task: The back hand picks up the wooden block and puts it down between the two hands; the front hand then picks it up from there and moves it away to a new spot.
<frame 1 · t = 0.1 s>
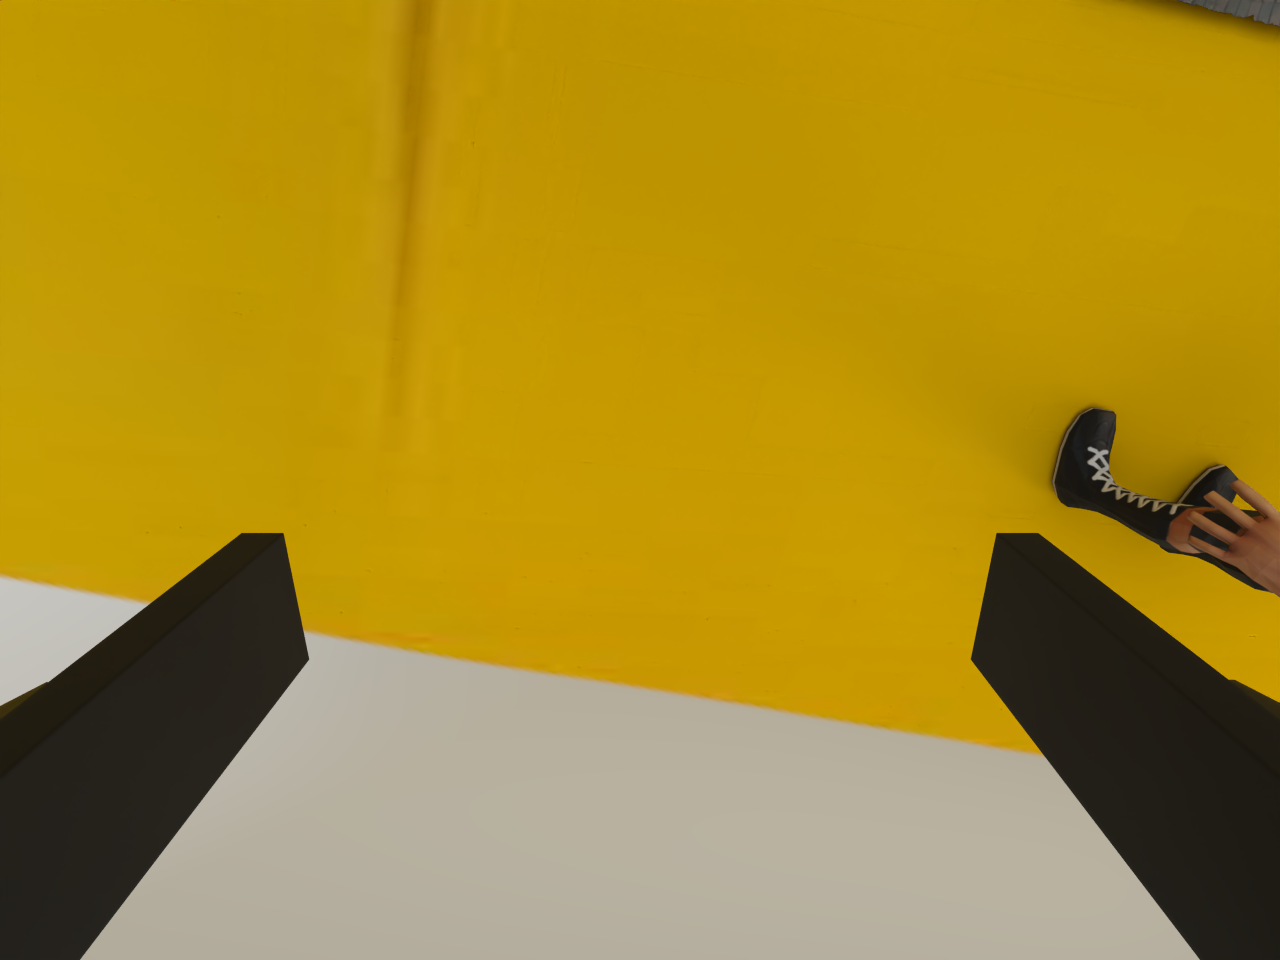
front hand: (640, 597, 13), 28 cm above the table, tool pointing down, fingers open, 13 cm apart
figurine: (1134, 477, 42), on the table
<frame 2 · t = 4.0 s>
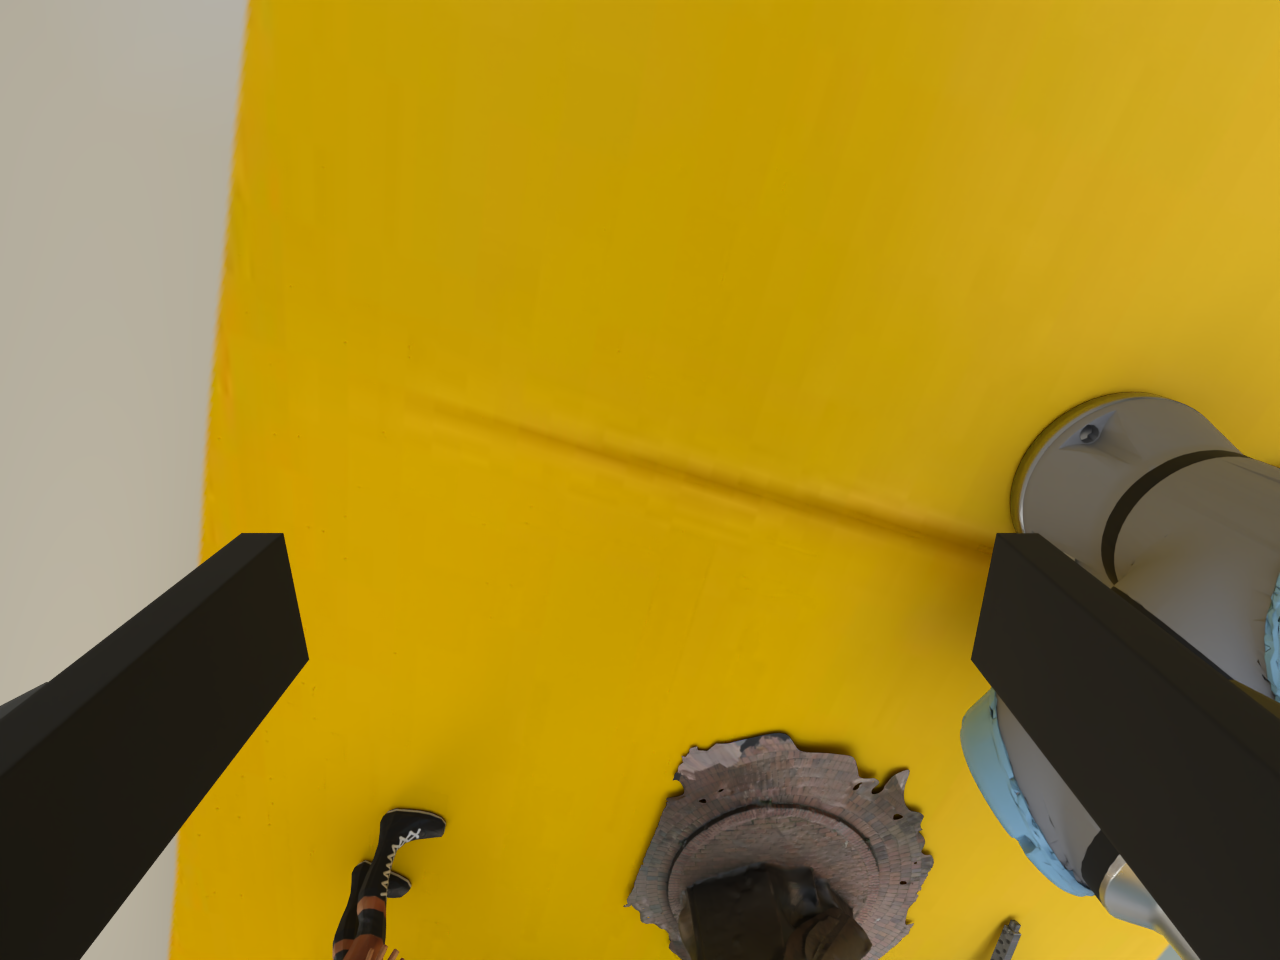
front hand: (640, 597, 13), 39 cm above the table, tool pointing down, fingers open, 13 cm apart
sculpture: (775, 871, 69), on the table
figurine: (401, 846, 67), on the table
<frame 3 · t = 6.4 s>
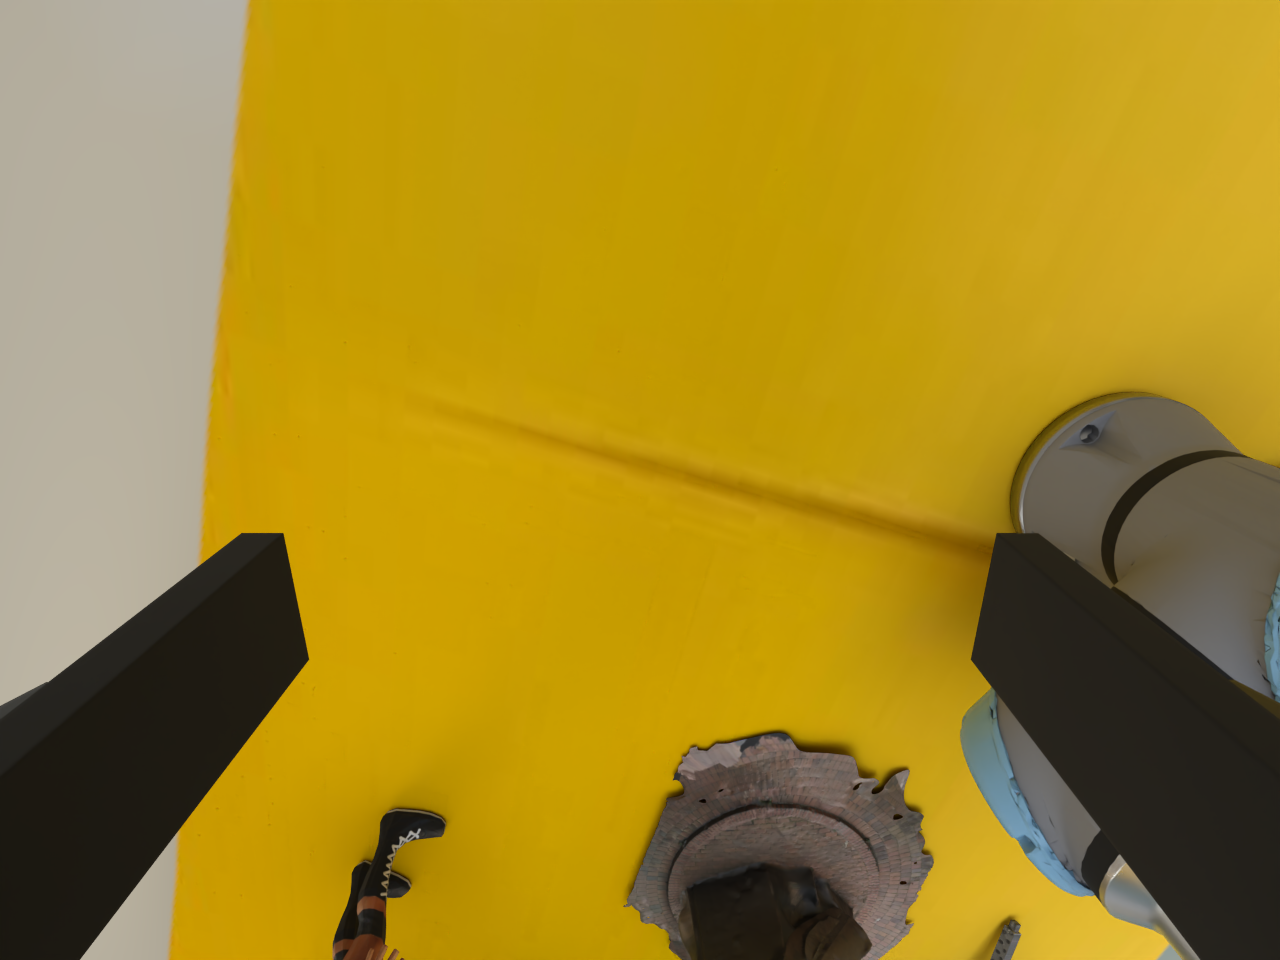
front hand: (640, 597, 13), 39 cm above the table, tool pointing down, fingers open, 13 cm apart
sculpture: (775, 871, 69), on the table
figurine: (401, 846, 67), on the table
when the back hand's fingers open (5 cm above the table, at t = 8.9 s): block drops 1 cm, on the table.
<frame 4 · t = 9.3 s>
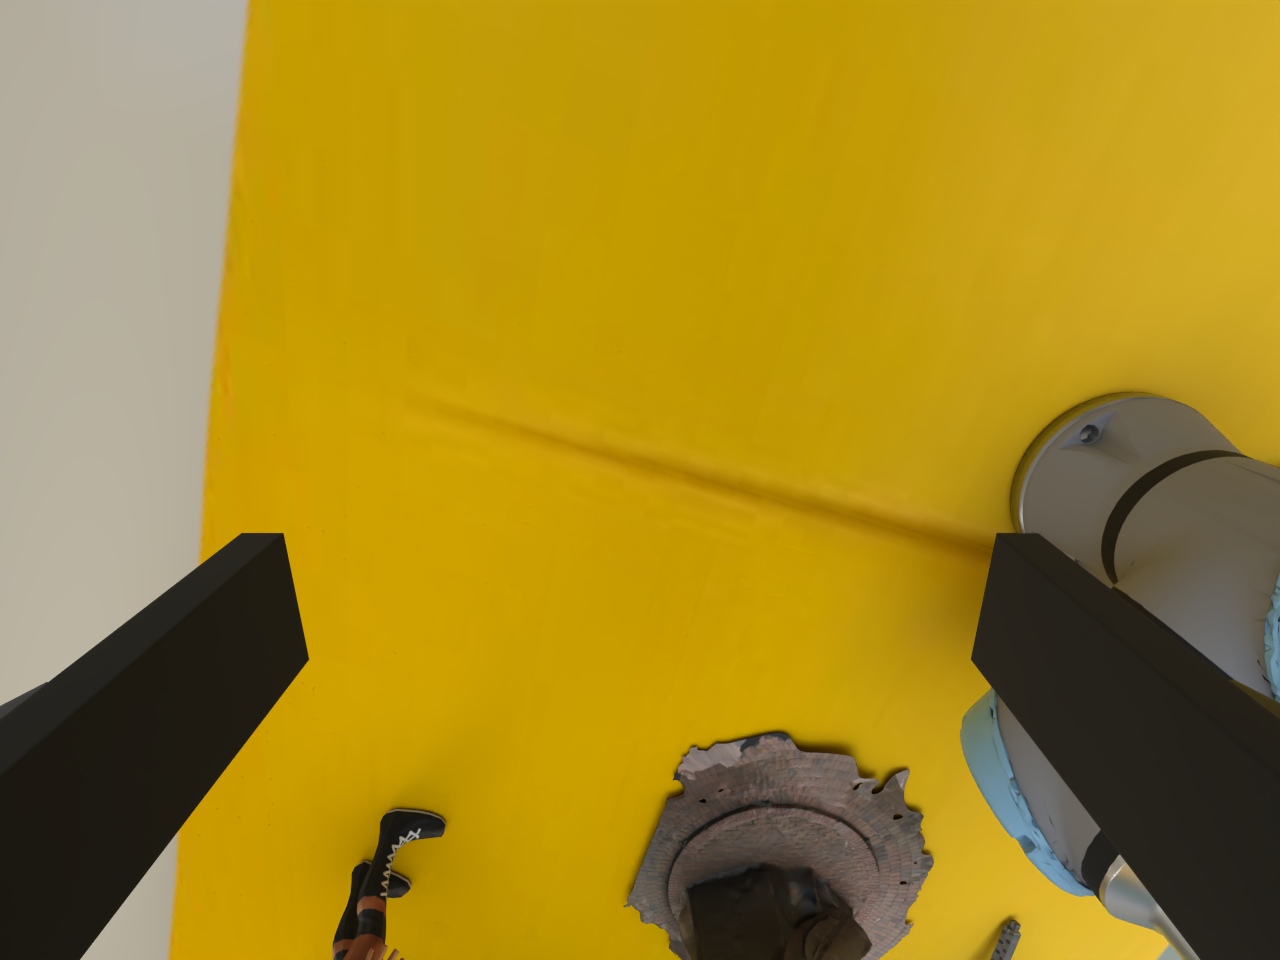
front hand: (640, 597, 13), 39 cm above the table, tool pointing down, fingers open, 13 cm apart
sculpture: (775, 871, 69), on the table
figurine: (401, 846, 67), on the table
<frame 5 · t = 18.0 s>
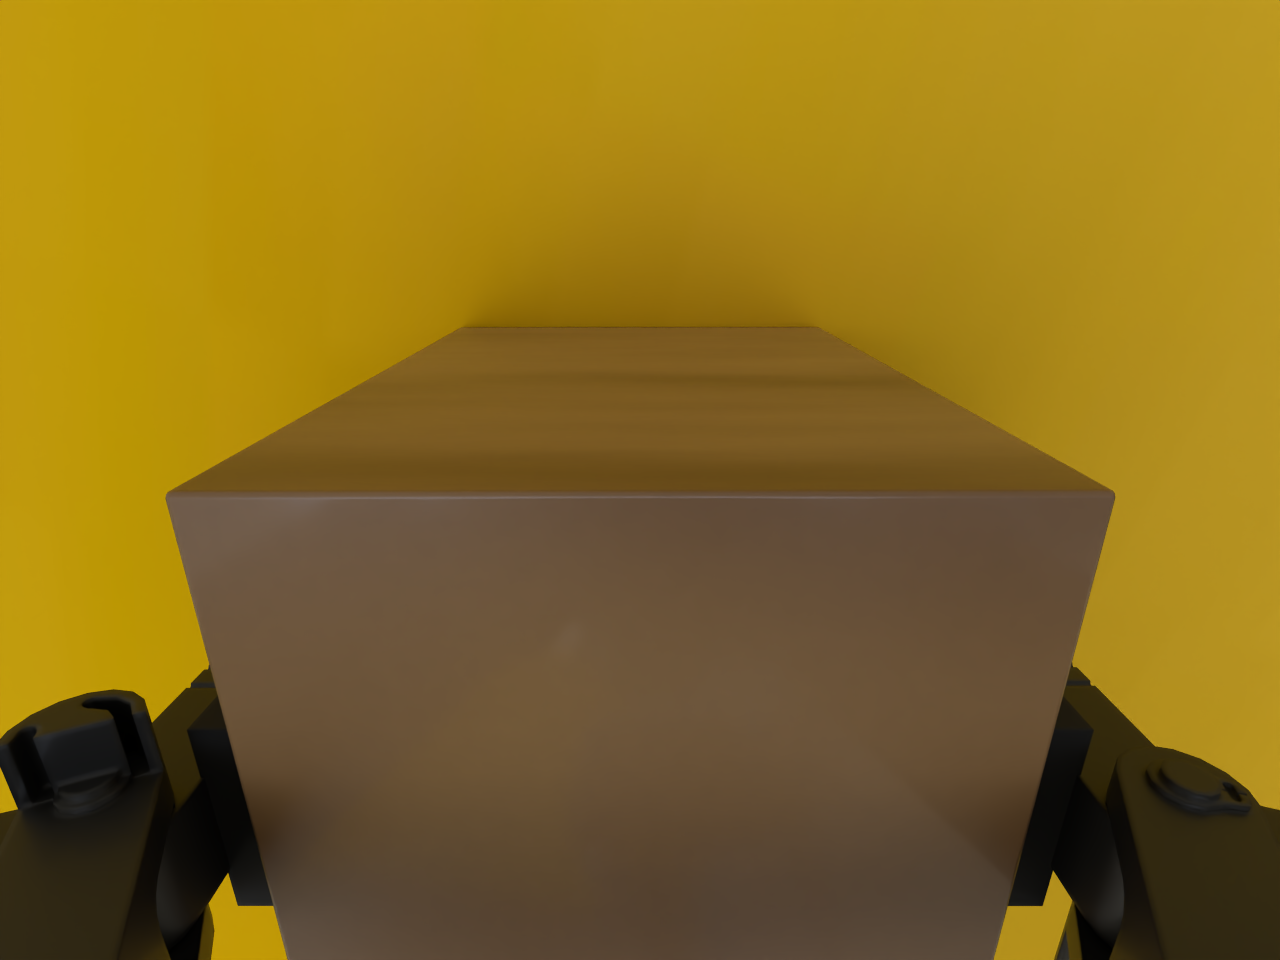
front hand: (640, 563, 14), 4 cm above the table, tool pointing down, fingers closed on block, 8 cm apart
block: (639, 496, 17), on the table, touching front hand
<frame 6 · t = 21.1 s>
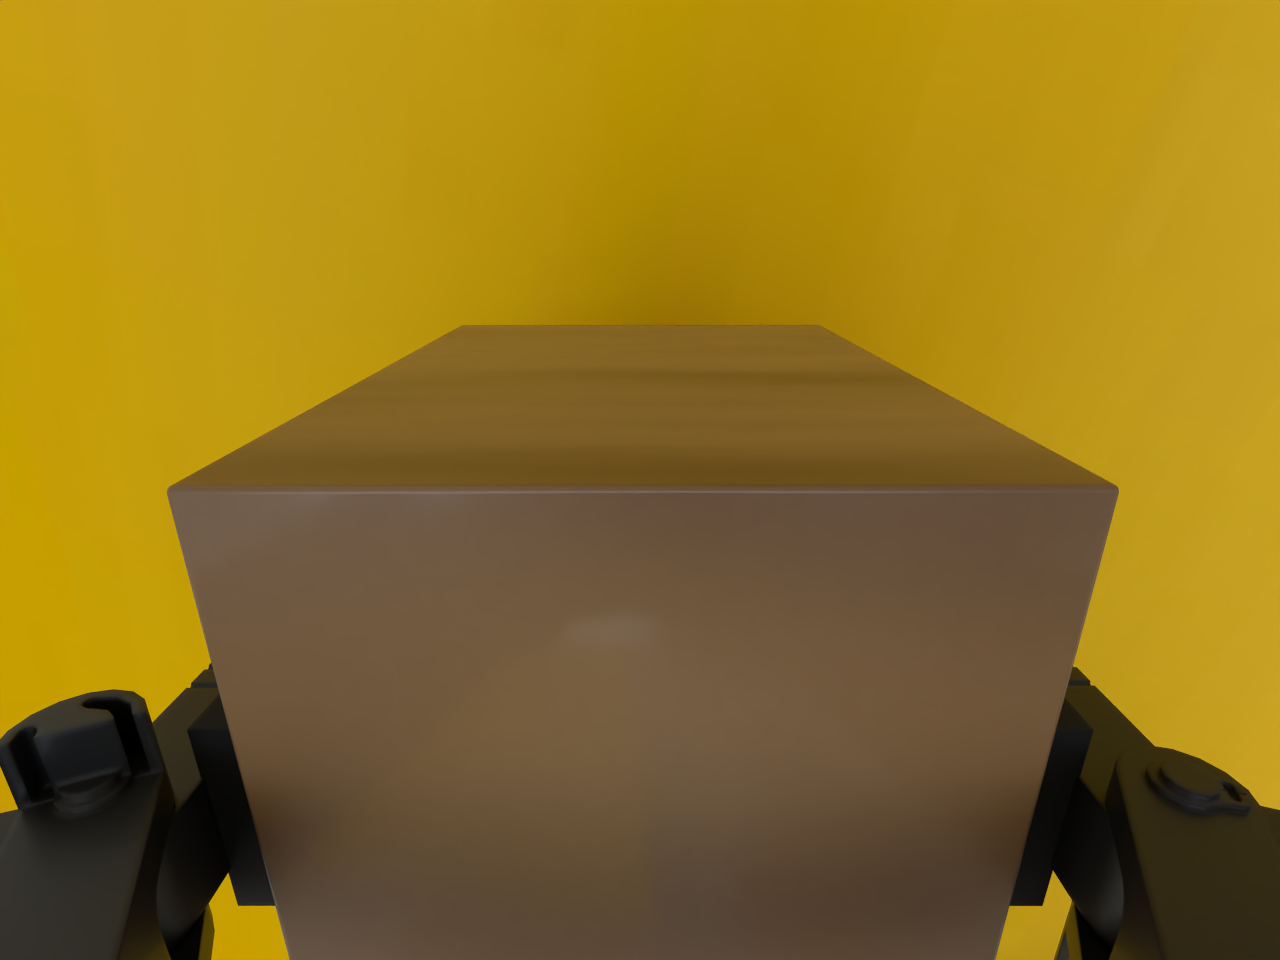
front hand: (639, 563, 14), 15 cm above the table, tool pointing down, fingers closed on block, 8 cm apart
block: (640, 494, 17), point 11 cm above the table, touching front hand
when the front hand's fingers open (5 cm above the table, at t = 24.3 s): block drops 1 cm, on the table.
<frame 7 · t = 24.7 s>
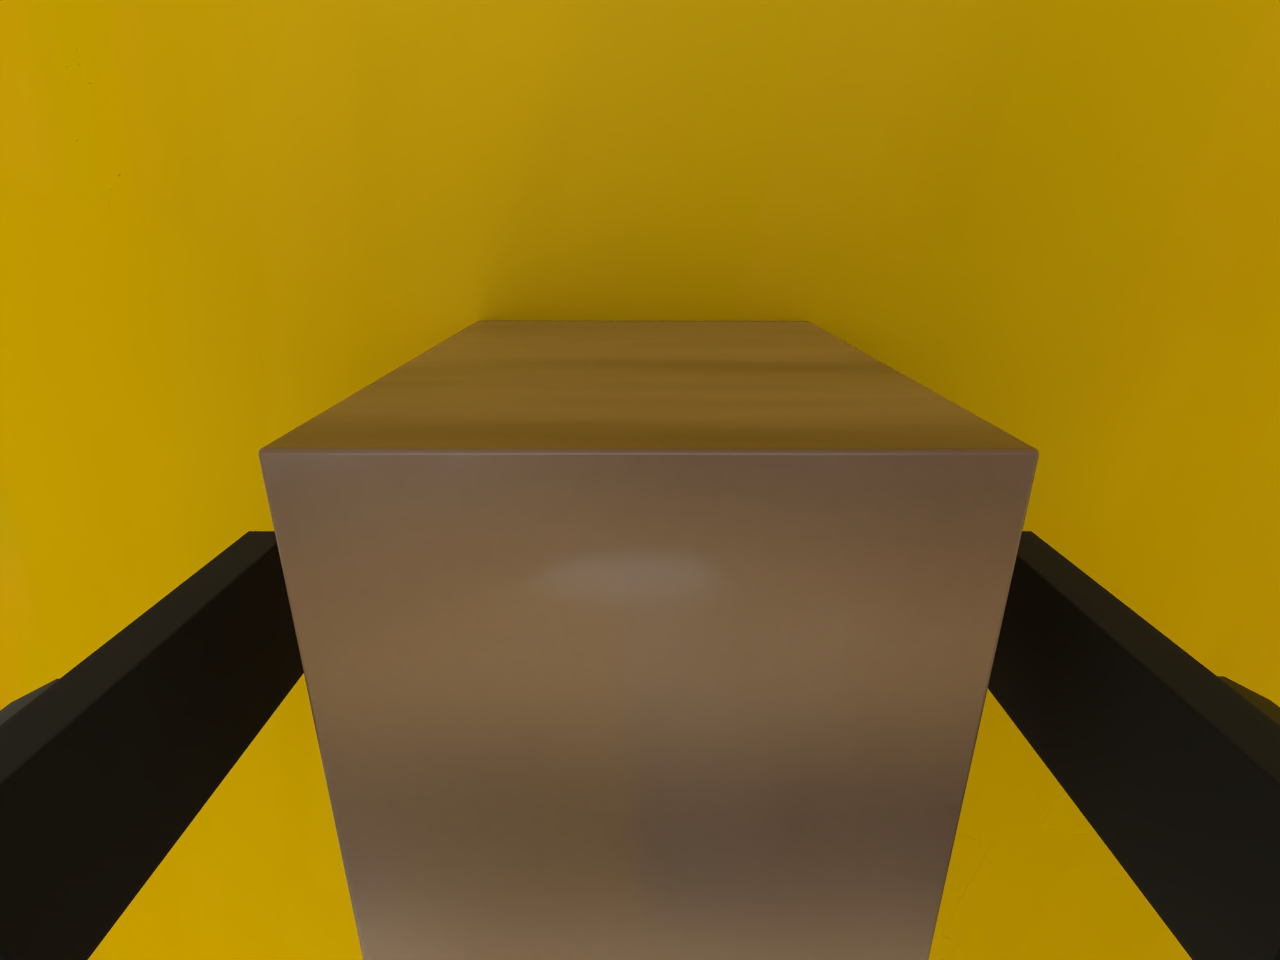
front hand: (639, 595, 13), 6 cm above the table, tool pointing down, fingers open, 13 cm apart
block: (642, 478, 19), on the table
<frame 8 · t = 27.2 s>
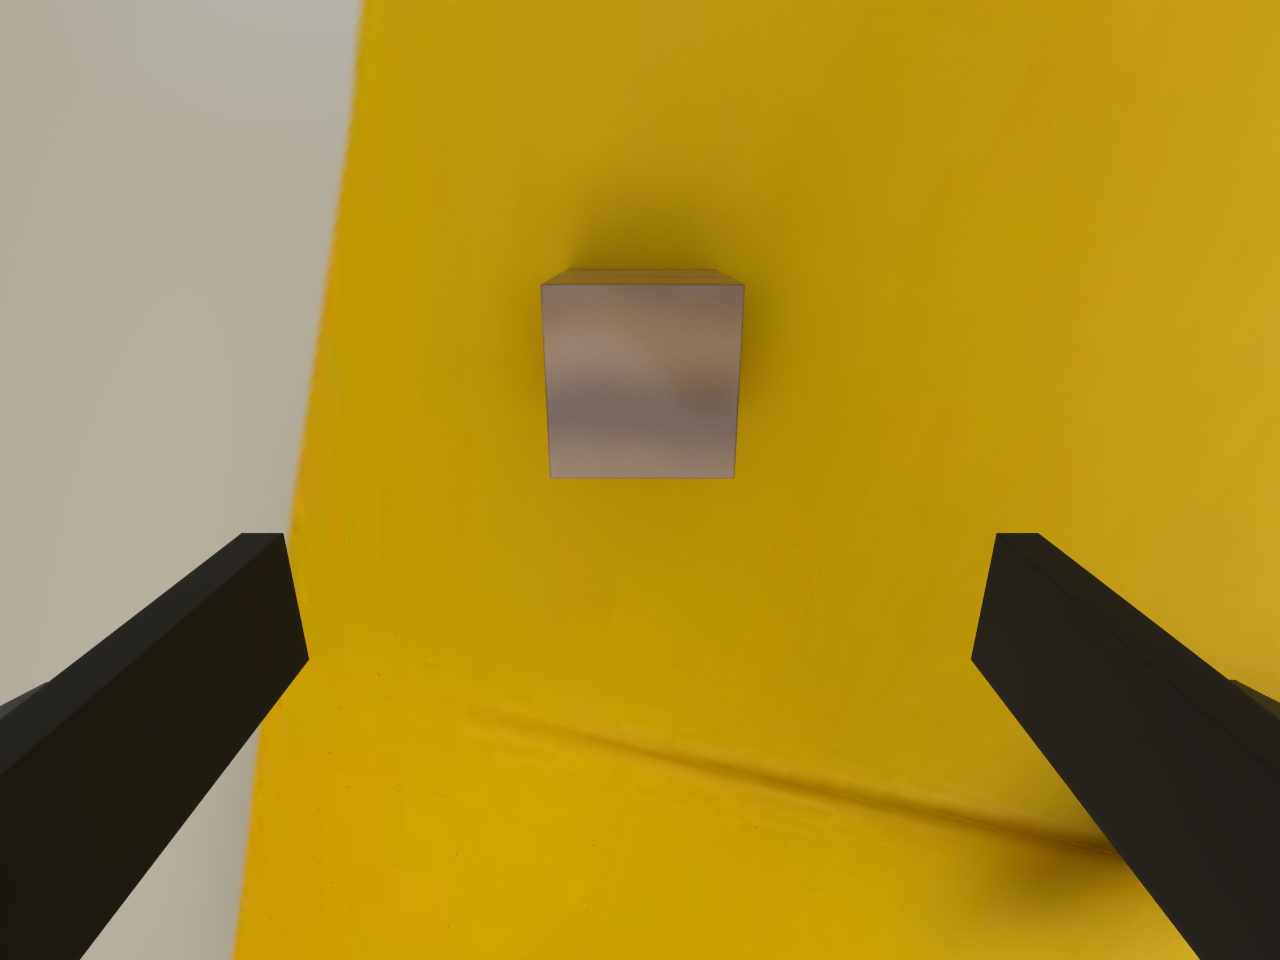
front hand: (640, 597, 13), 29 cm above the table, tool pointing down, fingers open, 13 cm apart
block: (641, 346, 40), on the table
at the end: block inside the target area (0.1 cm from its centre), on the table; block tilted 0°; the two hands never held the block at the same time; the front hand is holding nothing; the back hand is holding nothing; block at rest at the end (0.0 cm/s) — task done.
